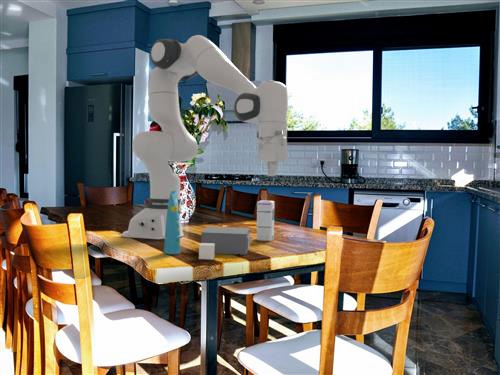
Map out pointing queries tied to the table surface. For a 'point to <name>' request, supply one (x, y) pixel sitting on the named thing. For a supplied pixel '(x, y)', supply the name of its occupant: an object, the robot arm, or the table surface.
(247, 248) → the tray
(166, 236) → the tube
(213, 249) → the block
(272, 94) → the robot arm
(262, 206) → the syrup box
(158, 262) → the table surface
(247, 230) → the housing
